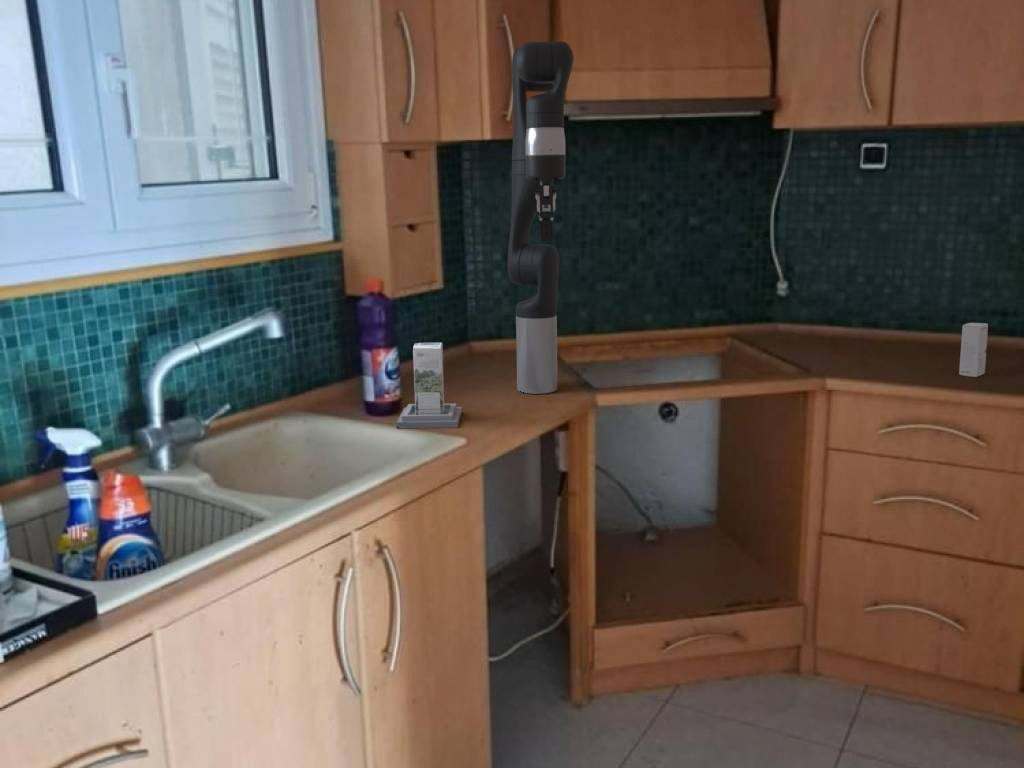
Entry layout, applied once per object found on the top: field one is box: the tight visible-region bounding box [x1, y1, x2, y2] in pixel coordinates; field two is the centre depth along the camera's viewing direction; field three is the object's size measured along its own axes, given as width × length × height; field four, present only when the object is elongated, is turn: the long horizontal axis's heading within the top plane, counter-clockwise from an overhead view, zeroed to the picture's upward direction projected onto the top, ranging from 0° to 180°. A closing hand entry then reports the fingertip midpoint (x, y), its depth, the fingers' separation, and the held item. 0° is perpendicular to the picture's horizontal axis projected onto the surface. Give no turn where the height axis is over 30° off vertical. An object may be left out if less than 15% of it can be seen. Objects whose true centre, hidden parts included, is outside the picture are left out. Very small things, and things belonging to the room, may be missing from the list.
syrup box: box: [412, 342, 445, 415], centre depth 188 cm, size 6×6×14 cm
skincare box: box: [958, 322, 989, 378], centre depth 222 cm, size 6×4×12 cm
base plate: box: [395, 402, 463, 429], centre depth 190 cm, size 12×12×2 cm
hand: (546, 239), depth 180 cm, fingers open, 8 cm apart
